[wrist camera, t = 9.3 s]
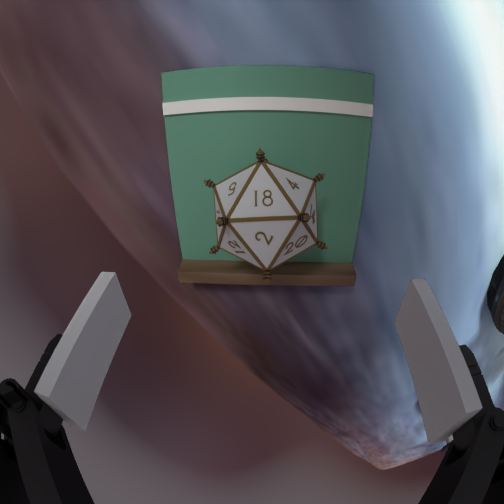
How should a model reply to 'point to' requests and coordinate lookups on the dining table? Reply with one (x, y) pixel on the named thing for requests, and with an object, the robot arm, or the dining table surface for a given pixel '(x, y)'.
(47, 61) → the dining table surface
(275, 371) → the dining table surface
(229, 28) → the dining table surface
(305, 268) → the walnut backstop rail
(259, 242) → the game die
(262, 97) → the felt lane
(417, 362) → the robot arm
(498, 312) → the beer stein
